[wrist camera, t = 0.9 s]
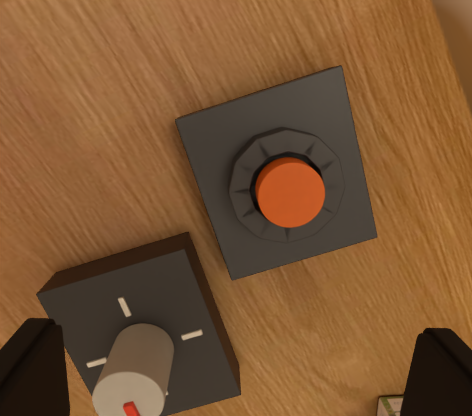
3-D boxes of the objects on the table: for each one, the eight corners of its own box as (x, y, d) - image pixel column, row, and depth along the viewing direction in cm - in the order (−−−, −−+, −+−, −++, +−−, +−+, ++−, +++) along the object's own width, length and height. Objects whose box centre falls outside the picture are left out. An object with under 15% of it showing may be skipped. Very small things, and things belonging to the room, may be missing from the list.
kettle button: (247, 168, 21) (249, 174, 19) (308, 148, 21) (316, 153, 19) (264, 225, 22) (268, 235, 20) (323, 207, 22) (332, 216, 20)
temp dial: (104, 332, 24) (77, 388, 20) (161, 315, 24) (147, 367, 20) (128, 379, 26) (107, 441, 21) (182, 363, 25) (173, 423, 21)
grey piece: (178, 117, 23) (170, 122, 20) (330, 67, 23) (353, 62, 19) (231, 266, 27) (232, 295, 23) (365, 225, 26) (390, 248, 22)
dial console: (55, 272, 26) (34, 295, 23) (188, 231, 26) (184, 249, 23) (121, 399, 30) (110, 433, 27) (239, 365, 29) (241, 396, 26)
